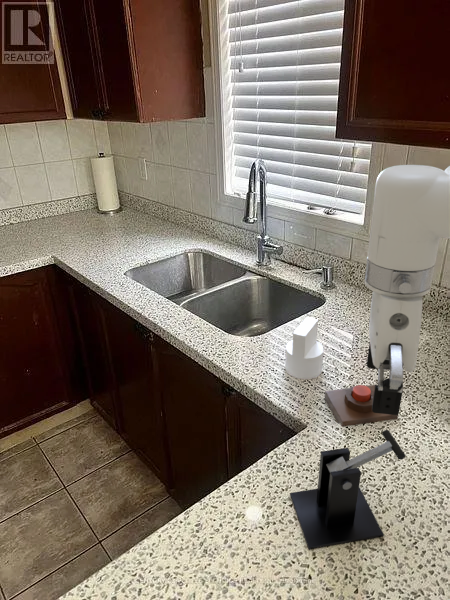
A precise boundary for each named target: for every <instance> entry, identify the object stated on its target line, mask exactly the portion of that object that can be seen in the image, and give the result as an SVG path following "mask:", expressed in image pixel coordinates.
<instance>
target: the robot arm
mask: <svg viewBox="0 0 450 600" xmlns="http://www.w3.org/2000/svg"><path fill="white" fill-rule="evenodd" d="M368 238H369V239H368V246H367V247H368V249H367V256H366V266H365V274H364V285H365V287H366V288H368V289H369V290H370V291H372V293H371V300H370V301H371V303H370V311H369V319H368V320H369V322H368V324H369V325H368V338H369V344H368V352H367V359H366V367H367V369H373V370H377V384H374V385H375V390H374V397H373V404H372V411H373V412H374V413H381V414H390V415H398V416H399V414H400V409H401V402H402V398H403V393H404V371H405V372H409V373H412V372H414V371H415V369H416V366H417V359H418V352H419V351H418V350H419V345H420V336H421V328H422V319H423V299H424V298H423V296H426V295H427V294H429V293H430V291H431V288H432V284H433V277H434V272H435V267H436V262H437V256H438V253H439V252H438V251H439V246H440V241H441V238H442V239H448V240H450V165H448V166H447V168H445V169H444V170H443V169H441V168H439V167H437V166H436V167H435V166H432V165H423V164H398V165H393V166H389V167H386V168H385V169H383V170H382V171H381V172H380V173H379V174H378V176H377V178H376V182H375V187H374V195H373V203H372V214H371V222H370V231H369V237H368ZM385 371H389V374H388V378H385Z"/></svg>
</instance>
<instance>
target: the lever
mask: <svg viewBox="0 0 450 600" xmlns="http://www.w3.org/2000/svg"><path fill="white" fill-rule="evenodd" d="M381 435H382V437H383V439H384V440H385V442H383V443H381V444H379V445H377V446H375V447H373V448H371V449H368V450H366V451H365V452H363V453H360V454H359V455H356V456H355V457H352V458H350V459H349V460H348V461H346V462H345V460H344V458H343V456H342V457H340V458H338V459H336V460H334V461H332V462H330V463H328V464H326V465H327V467H328V469H329V472H333V471H339V470H346V469H353V468H359V467H362V466H363V465H365V464H367V463H370V462H371V461H374V460H376V459H378V458H380V457H382V456H384V455H386V454H388V453H390V452H393V453H394V455H395V457H396V458H397V459H398V460H403V459H405V458H406V453H405V451H404V450H403V449H402V448H401V446H400V445H399V443H398V441H397V440H396V439H395V437H394V435H393V434H392V433H391V431H390V430H388V429H385V430H383V431H382V433H381Z"/></svg>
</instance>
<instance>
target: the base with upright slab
mask: <svg viewBox="0 0 450 600" xmlns="http://www.w3.org/2000/svg"><path fill="white" fill-rule="evenodd" d="M318 326H319V319H317V318H314V317H309V316H306V317H304V319H303V320H302V321H301V322H300V324H299V325H298V326H297V327H296V329H295V330H294V331H293V332H292V339H291V340H288V342H287V343H286V344H285V357H284V358H285V360H284V361H285V363H284V369H285V371H286V372H287V374H288V375H290V376H291V377H293V378H295V379H300V380H311V379H316V378H317V377H319V376H320V375H321V374H322V372H323V365H324V364H323V363H324V351H325V349H324V346H323V344H322V343H320V341H317V340H318Z"/></svg>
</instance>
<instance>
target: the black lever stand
mask: <svg viewBox="0 0 450 600" xmlns="http://www.w3.org/2000/svg"><path fill="white" fill-rule="evenodd" d="M342 456H343V458H344V460H345V462H346V461H348V460H350V459H351V458H350V457H351V451H350V449H349V447H343V448H337V449H335V448H334V449H327V450H322V451H320V457H319V468H318V479H317V488H313V489H306V490H299V491H293V492H289V496H290V500H291V502H292V506H293V508H294V511H295V514H296V517H297V520H298V523H299V526H300V529H301V532H302V535H303V538H304V540H305V544H306V548H307V549H308V550H309V551H310V550H316V549H322V548H327V547H333V546H338V545H339V546H340V545H345V544H349V543H356V542H361V541H367V540H374V539H380V538H383V537H384V536H385V534H384V532H383V530H382V528H381V526H380V524H379V522H378V520H377V519H376V517H375V514H374V513H373V511H372V509H371V507H370V505H369V503H368V501H367V499H366V497H365V495H364V493H363V492H362V489H361V488H360V487H361V486H360V483H361V477H362V471H361V470H360V468H359V467H357V468H353V469H346V470H339V471H333V472H329V469H328V467H327V465H326V464H328V463H330V462H332V461H334V460H336V459H338V458H340V457H342Z"/></svg>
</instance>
